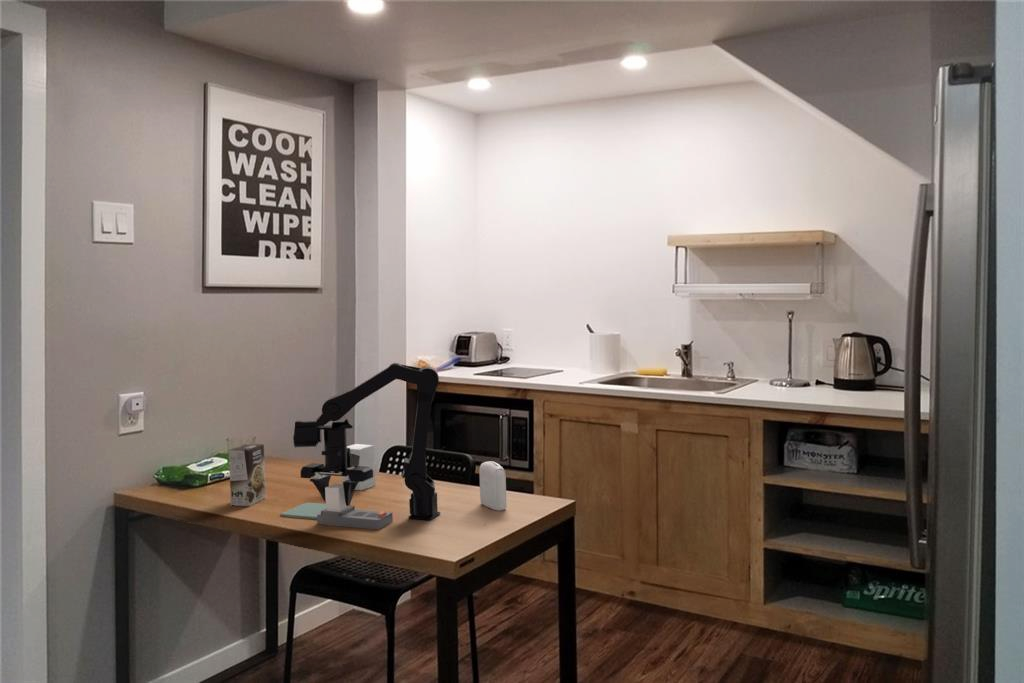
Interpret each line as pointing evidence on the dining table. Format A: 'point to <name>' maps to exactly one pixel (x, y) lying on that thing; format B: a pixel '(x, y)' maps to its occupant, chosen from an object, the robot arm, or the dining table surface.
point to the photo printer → (492, 485)
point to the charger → (335, 498)
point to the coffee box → (247, 474)
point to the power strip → (355, 518)
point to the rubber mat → (305, 511)
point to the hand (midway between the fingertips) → (337, 504)
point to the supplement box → (363, 463)
